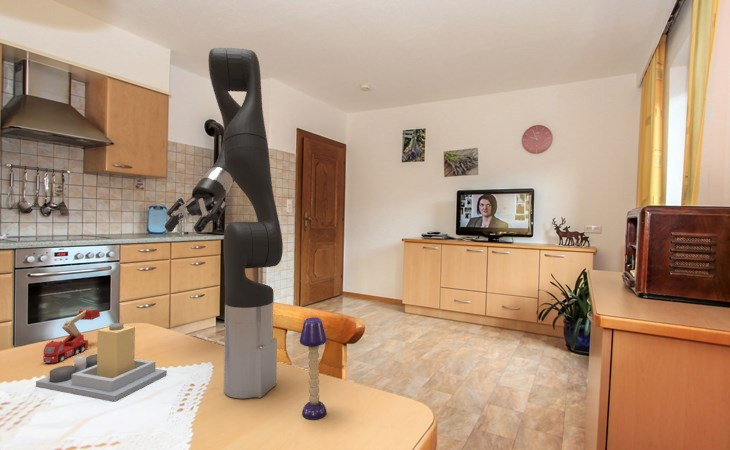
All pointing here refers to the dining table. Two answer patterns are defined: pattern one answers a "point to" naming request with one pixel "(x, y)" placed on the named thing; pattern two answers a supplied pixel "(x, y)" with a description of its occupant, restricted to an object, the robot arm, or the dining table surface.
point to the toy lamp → (313, 365)
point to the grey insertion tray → (100, 379)
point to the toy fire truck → (69, 339)
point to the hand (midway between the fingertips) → (181, 230)
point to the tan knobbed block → (115, 350)
